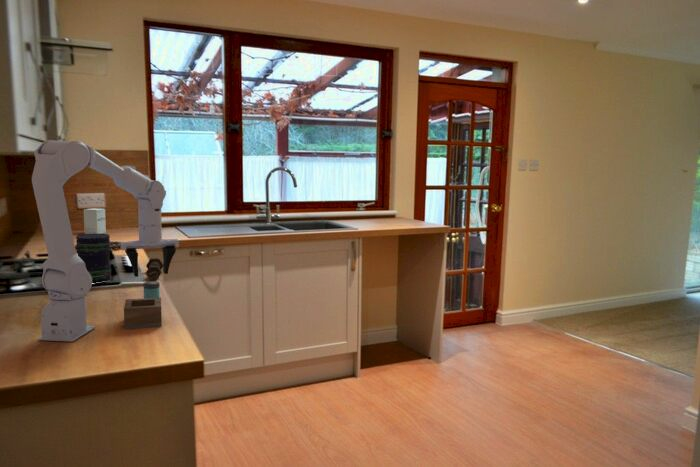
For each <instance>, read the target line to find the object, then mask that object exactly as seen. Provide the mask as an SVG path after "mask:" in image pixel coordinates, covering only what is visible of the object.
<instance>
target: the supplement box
mask: <svg viewBox="0 0 700 467" xmlns="http://www.w3.org/2000/svg"><path fill="white" fill-rule="evenodd" d="M106 222H107V220H106V208H98V207H97V208H96V207H95V208H94V207H93V208H86V209H85V208H84V209H83V224H84V225H83V226H84V227H83V228H84V230H83V234H107V233H106V232H107V231H106V230H107V229H106V228H107V227H106V226H107V225H106Z"/></svg>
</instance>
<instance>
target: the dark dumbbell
mask: <svg viewBox="0 0 700 467" xmlns="http://www.w3.org/2000/svg"><path fill="white" fill-rule="evenodd" d="M146 268H147V270H146V271H145V274H146V275H147V277H148V279H149V280H152V281H155V280H158V279H159V278H160V276H161V275H162V270H163V262H162V260H161V259H160V258H159V257H152V258H150V259H149V260H148V261H147V263H146Z"/></svg>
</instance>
